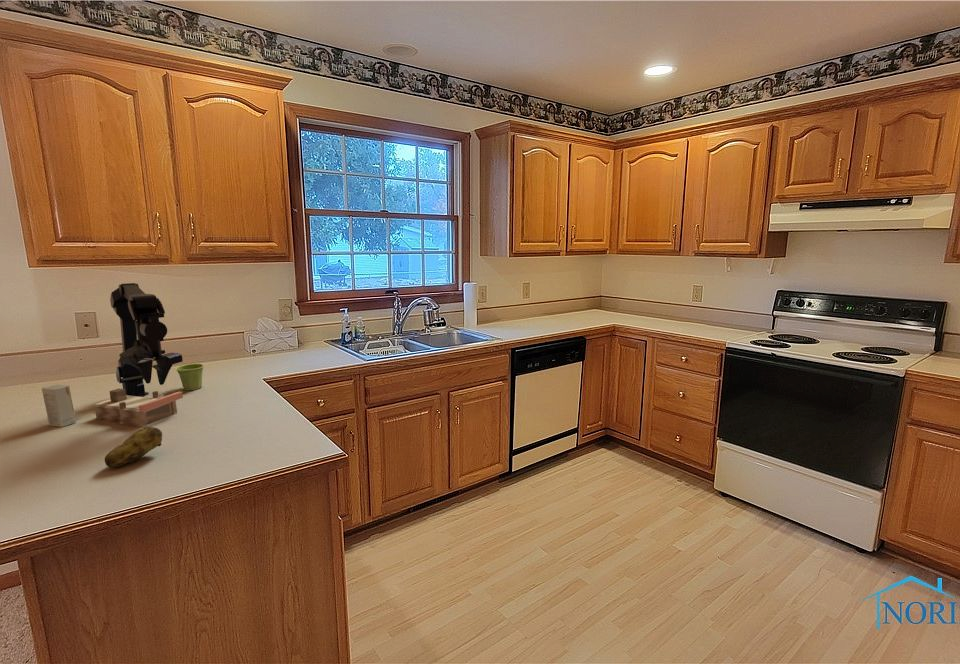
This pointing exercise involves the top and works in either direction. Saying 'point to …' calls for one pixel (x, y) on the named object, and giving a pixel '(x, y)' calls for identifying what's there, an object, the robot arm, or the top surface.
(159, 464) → the top surface
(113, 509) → the top surface
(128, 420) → the toolbox
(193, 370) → the plant pot
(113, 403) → the lid
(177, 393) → the bar
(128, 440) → the potato
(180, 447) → the top surface
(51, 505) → the top surface
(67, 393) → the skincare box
